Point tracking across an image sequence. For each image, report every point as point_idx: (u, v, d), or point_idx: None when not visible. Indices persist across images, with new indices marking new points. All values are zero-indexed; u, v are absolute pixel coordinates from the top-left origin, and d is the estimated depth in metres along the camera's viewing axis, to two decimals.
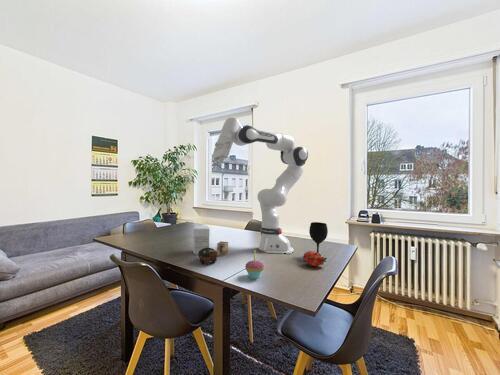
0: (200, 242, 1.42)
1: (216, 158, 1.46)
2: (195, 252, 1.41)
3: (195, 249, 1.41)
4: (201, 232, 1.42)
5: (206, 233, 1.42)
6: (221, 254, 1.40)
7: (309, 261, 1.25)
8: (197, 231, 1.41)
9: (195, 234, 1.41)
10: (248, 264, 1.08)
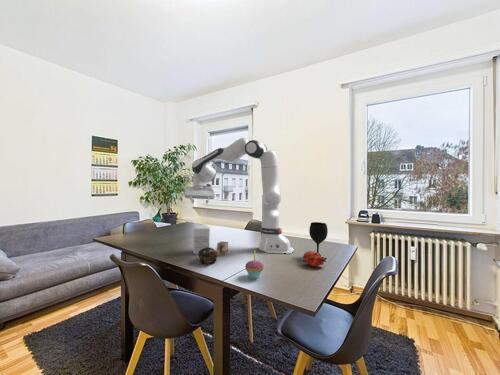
0: (200, 242, 1.42)
1: (207, 197, 1.66)
2: (195, 252, 1.41)
3: (195, 249, 1.41)
4: (201, 232, 1.42)
5: (206, 233, 1.42)
6: (221, 254, 1.40)
7: (309, 261, 1.25)
8: (197, 231, 1.41)
9: (195, 234, 1.41)
10: (248, 264, 1.08)
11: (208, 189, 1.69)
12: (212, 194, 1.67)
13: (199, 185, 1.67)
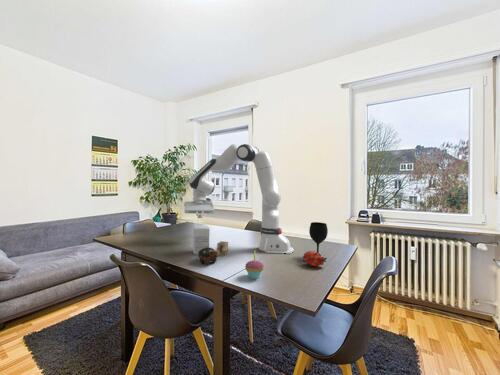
0: (200, 242, 1.42)
1: (201, 212, 1.66)
2: (195, 252, 1.41)
3: (195, 249, 1.41)
4: (201, 232, 1.42)
5: (206, 233, 1.42)
6: (221, 254, 1.40)
7: (309, 261, 1.25)
8: (197, 231, 1.41)
9: (195, 234, 1.41)
10: (248, 264, 1.08)
11: (208, 203, 1.69)
12: (212, 208, 1.67)
13: (199, 200, 1.68)
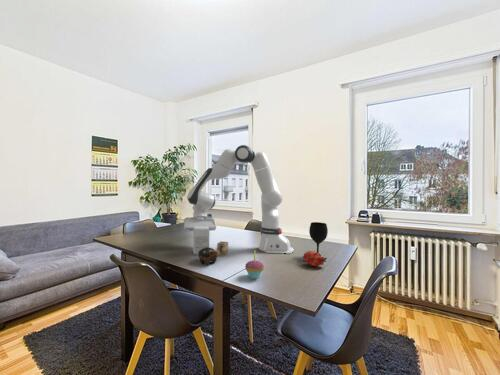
0: (200, 242, 1.41)
1: None
2: (195, 252, 1.41)
3: (195, 249, 1.41)
4: (201, 233, 1.41)
5: (206, 234, 1.42)
6: (221, 254, 1.40)
7: (309, 261, 1.25)
8: (197, 231, 1.41)
9: (195, 234, 1.41)
10: (248, 264, 1.08)
11: (209, 220, 1.58)
12: (213, 225, 1.55)
13: (199, 216, 1.56)
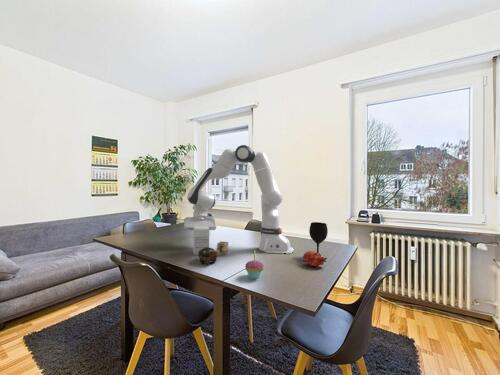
0: (200, 242, 1.41)
1: None
2: (195, 252, 1.40)
3: (195, 249, 1.40)
4: (201, 233, 1.41)
5: (206, 234, 1.42)
6: (221, 254, 1.40)
7: (309, 261, 1.25)
8: (197, 231, 1.40)
9: (195, 234, 1.40)
10: (248, 264, 1.08)
11: (209, 219, 1.58)
12: (213, 225, 1.56)
13: (199, 215, 1.56)
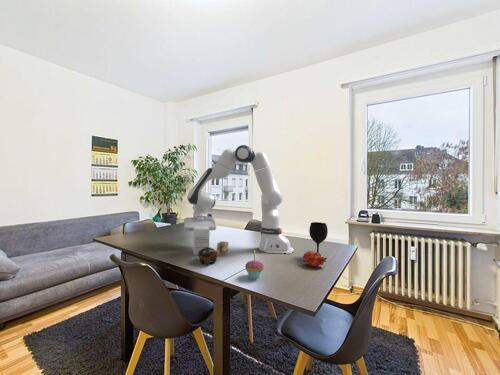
0: (200, 242, 1.41)
1: None
2: (195, 252, 1.40)
3: (195, 249, 1.40)
4: (201, 233, 1.41)
5: (206, 234, 1.41)
6: (221, 254, 1.40)
7: (309, 261, 1.25)
8: (197, 231, 1.40)
9: (195, 234, 1.40)
10: (248, 264, 1.08)
11: (209, 219, 1.58)
12: (213, 225, 1.55)
13: (199, 216, 1.56)
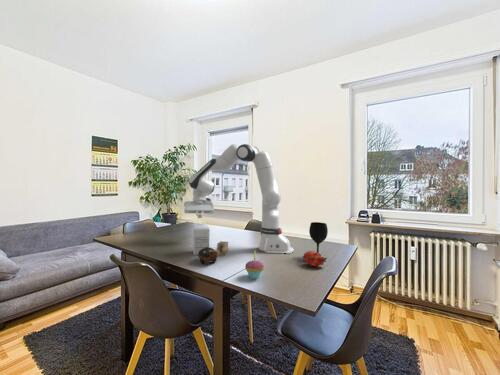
0: (200, 243, 1.41)
1: None
2: (195, 252, 1.40)
3: (195, 249, 1.40)
4: (201, 233, 1.41)
5: (206, 234, 1.41)
6: (221, 254, 1.40)
7: (309, 261, 1.25)
8: (197, 231, 1.40)
9: (195, 234, 1.40)
10: (248, 264, 1.08)
11: (208, 203, 1.69)
12: (212, 208, 1.67)
13: (199, 200, 1.68)
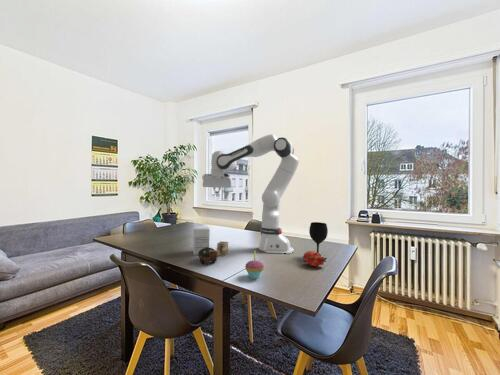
0: (200, 243, 1.41)
1: (218, 187, 1.73)
2: (195, 252, 1.40)
3: (195, 249, 1.40)
4: (201, 233, 1.41)
5: (206, 234, 1.41)
6: (221, 254, 1.40)
7: (309, 261, 1.25)
8: (197, 231, 1.40)
9: (195, 234, 1.40)
10: (248, 264, 1.08)
11: (225, 179, 1.72)
12: (229, 185, 1.73)
13: None
